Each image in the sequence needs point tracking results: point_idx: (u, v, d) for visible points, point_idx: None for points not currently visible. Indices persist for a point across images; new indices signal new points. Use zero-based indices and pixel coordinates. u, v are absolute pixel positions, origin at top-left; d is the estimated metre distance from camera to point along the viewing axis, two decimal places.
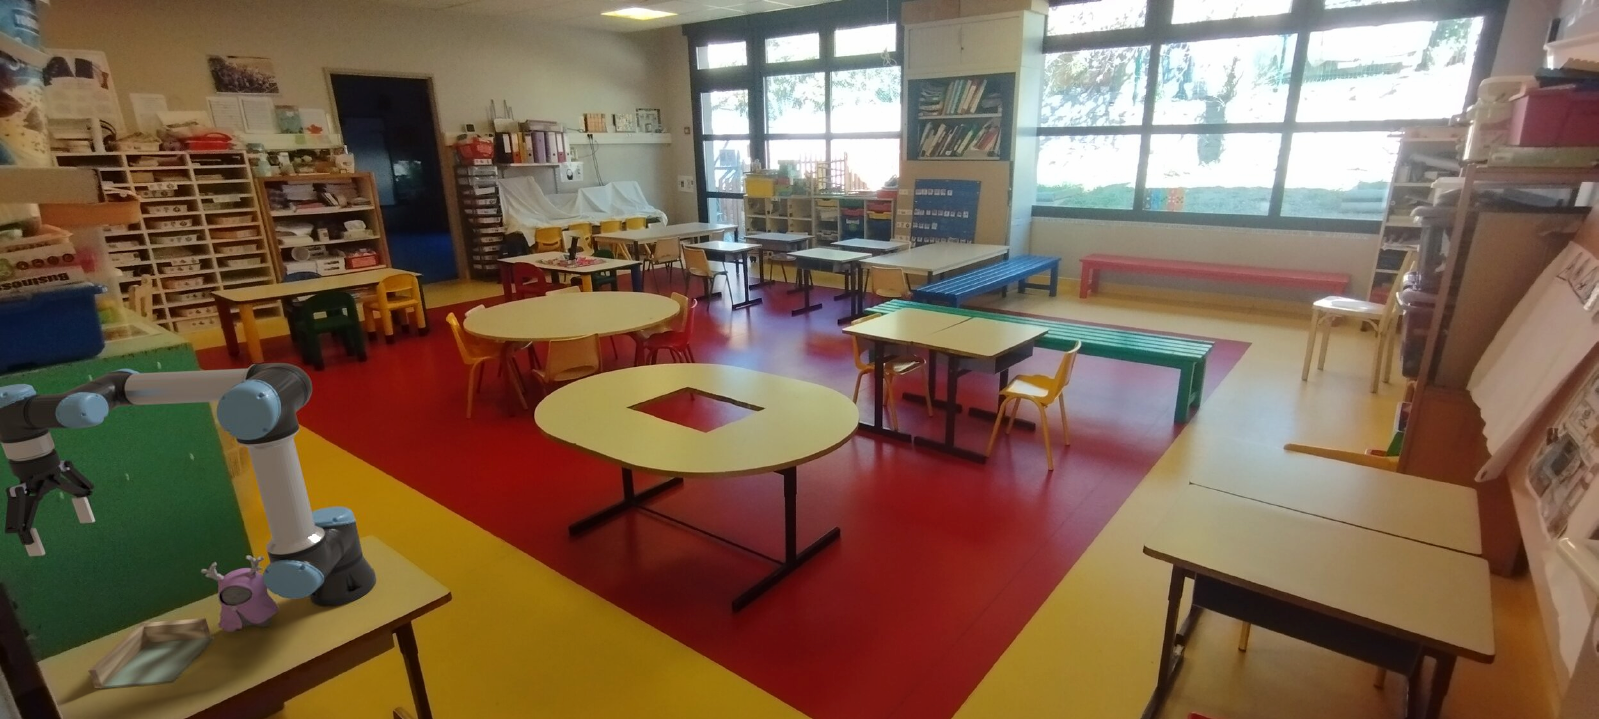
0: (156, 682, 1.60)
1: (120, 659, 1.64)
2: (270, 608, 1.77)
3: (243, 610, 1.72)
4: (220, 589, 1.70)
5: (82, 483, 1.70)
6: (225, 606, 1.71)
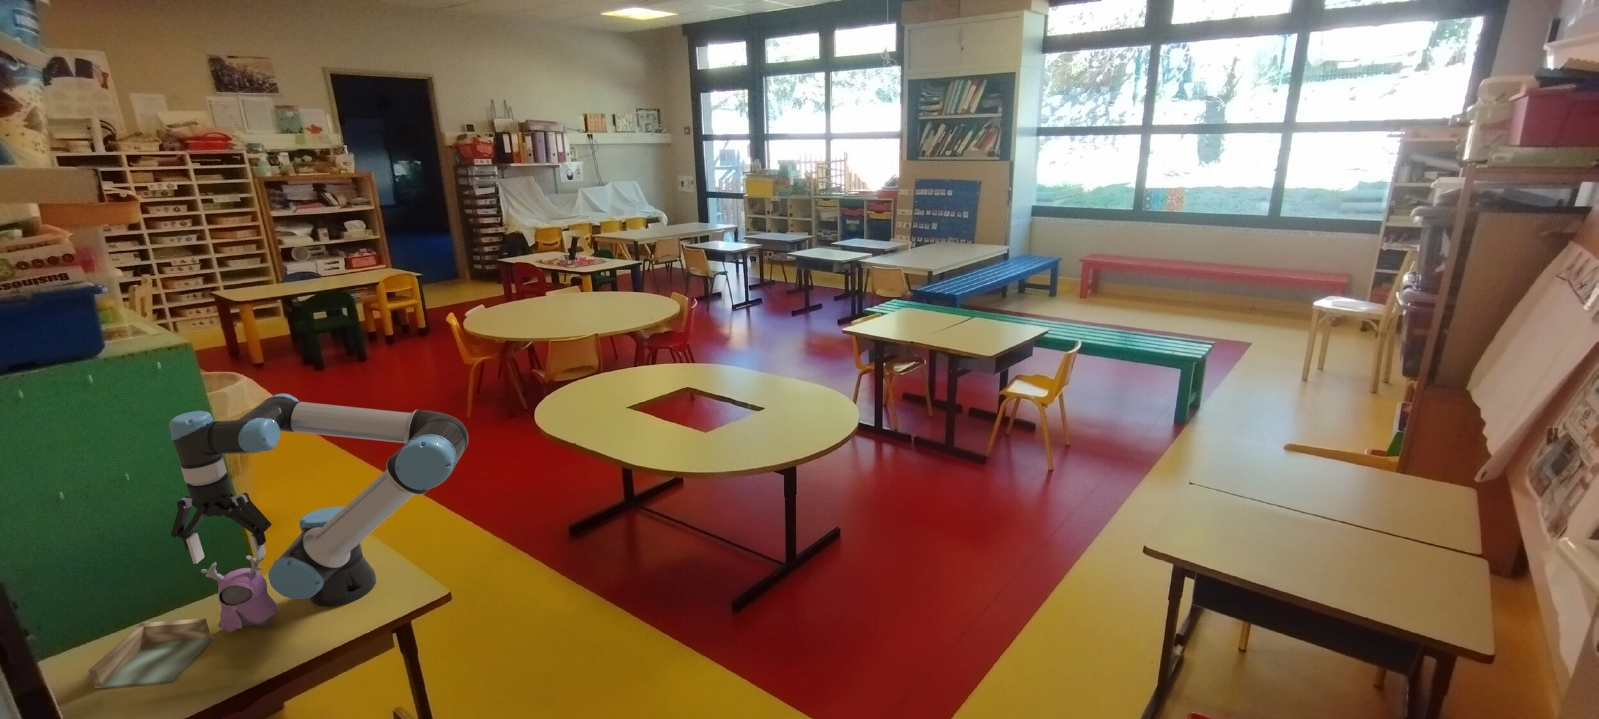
0: (156, 682, 1.60)
1: (120, 659, 1.64)
2: (270, 608, 1.77)
3: (243, 610, 1.72)
4: (220, 589, 1.70)
5: None
6: (225, 606, 1.71)
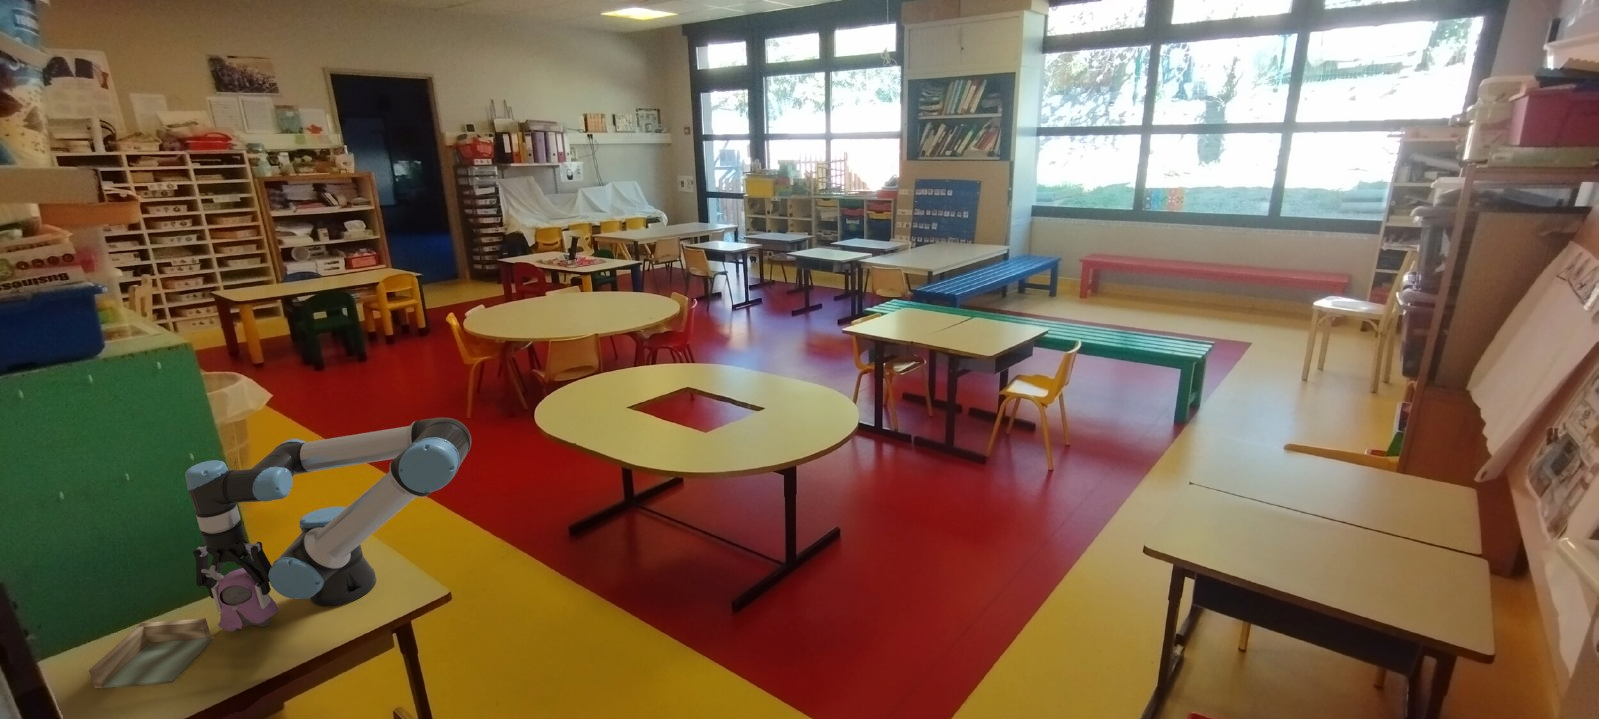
0: (156, 682, 1.60)
1: (120, 659, 1.64)
2: (270, 608, 1.77)
3: (244, 610, 1.72)
4: (220, 589, 1.70)
5: None
6: (225, 606, 1.71)
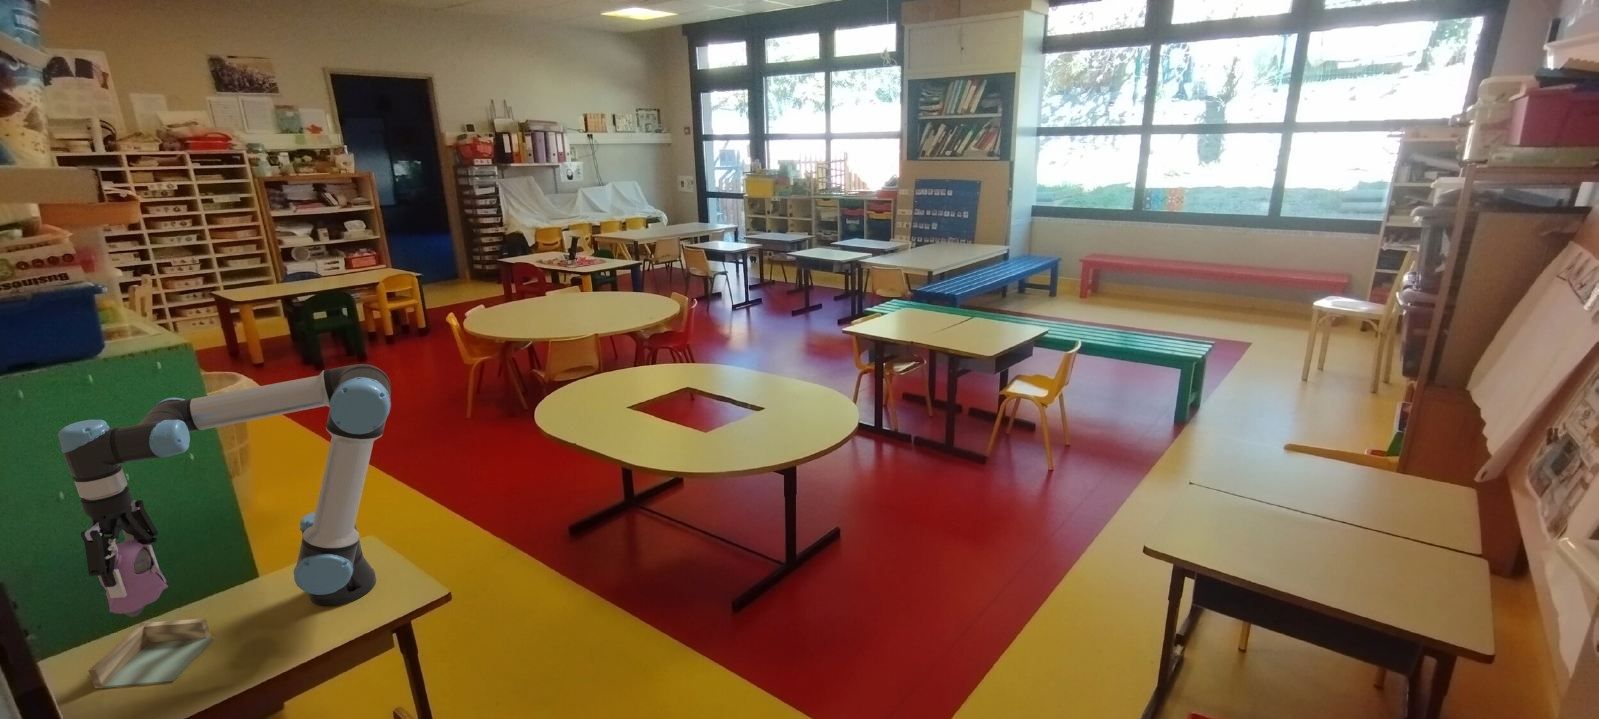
0: (156, 682, 1.60)
1: (120, 659, 1.64)
2: None
3: (158, 570, 1.61)
4: (131, 560, 1.55)
5: (147, 527, 1.62)
6: (143, 575, 1.57)
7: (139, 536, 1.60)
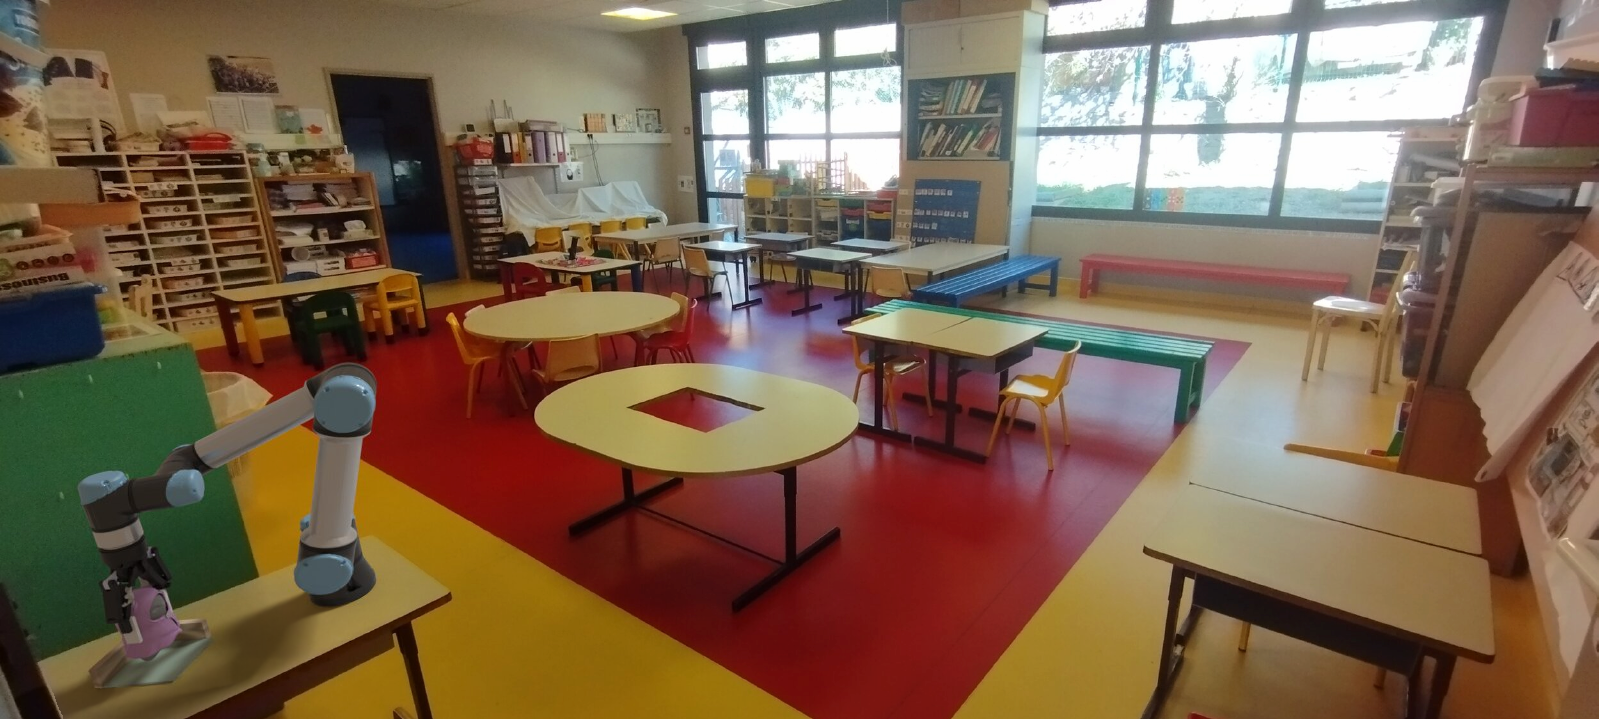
0: (156, 682, 1.60)
1: (120, 659, 1.64)
2: None
3: (172, 615, 1.65)
4: (147, 606, 1.59)
5: (162, 572, 1.66)
6: (158, 620, 1.61)
7: (154, 582, 1.64)
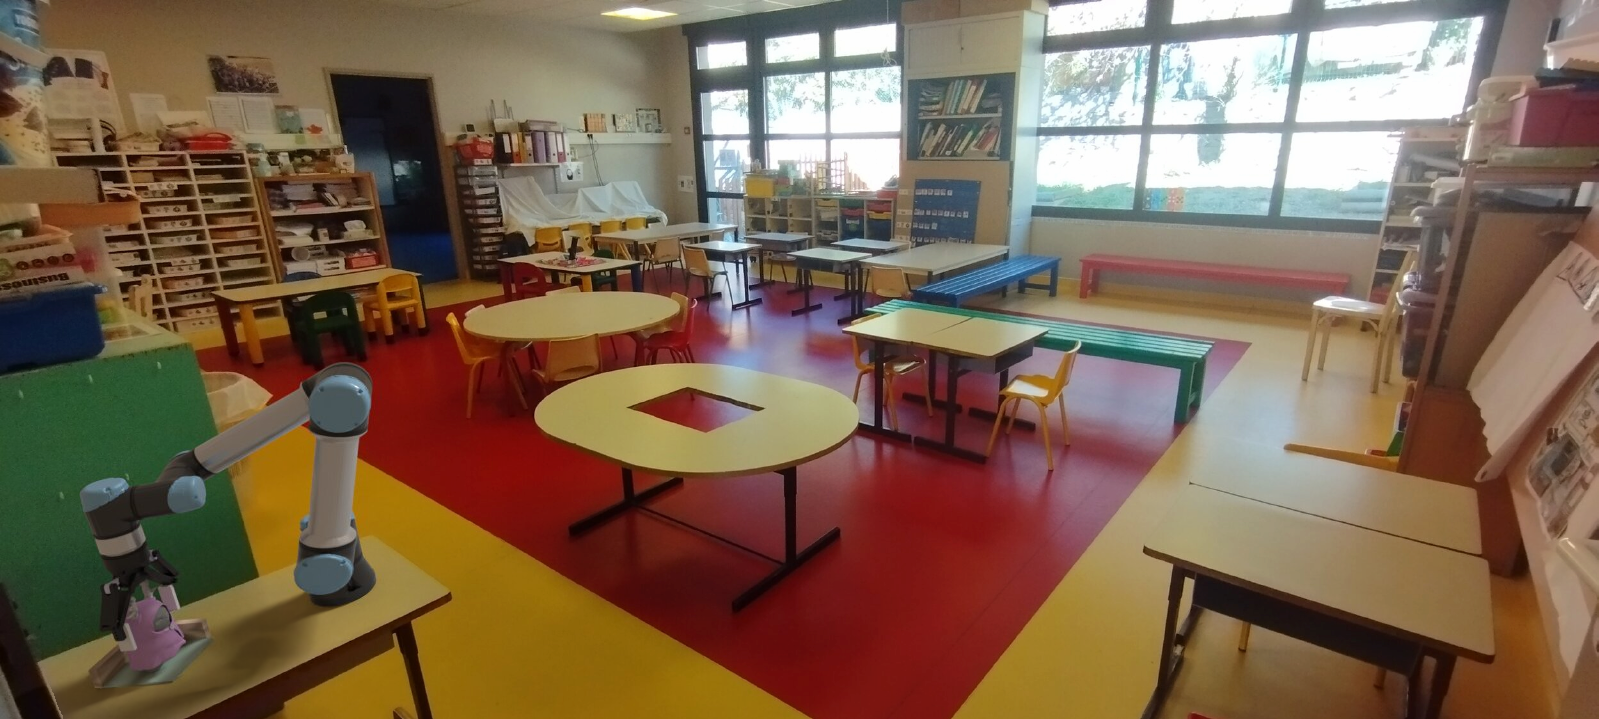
0: (156, 682, 1.60)
1: (120, 659, 1.64)
2: None
3: (176, 626, 1.66)
4: (151, 618, 1.60)
5: (168, 571, 1.68)
6: (162, 632, 1.62)
7: (160, 580, 1.66)
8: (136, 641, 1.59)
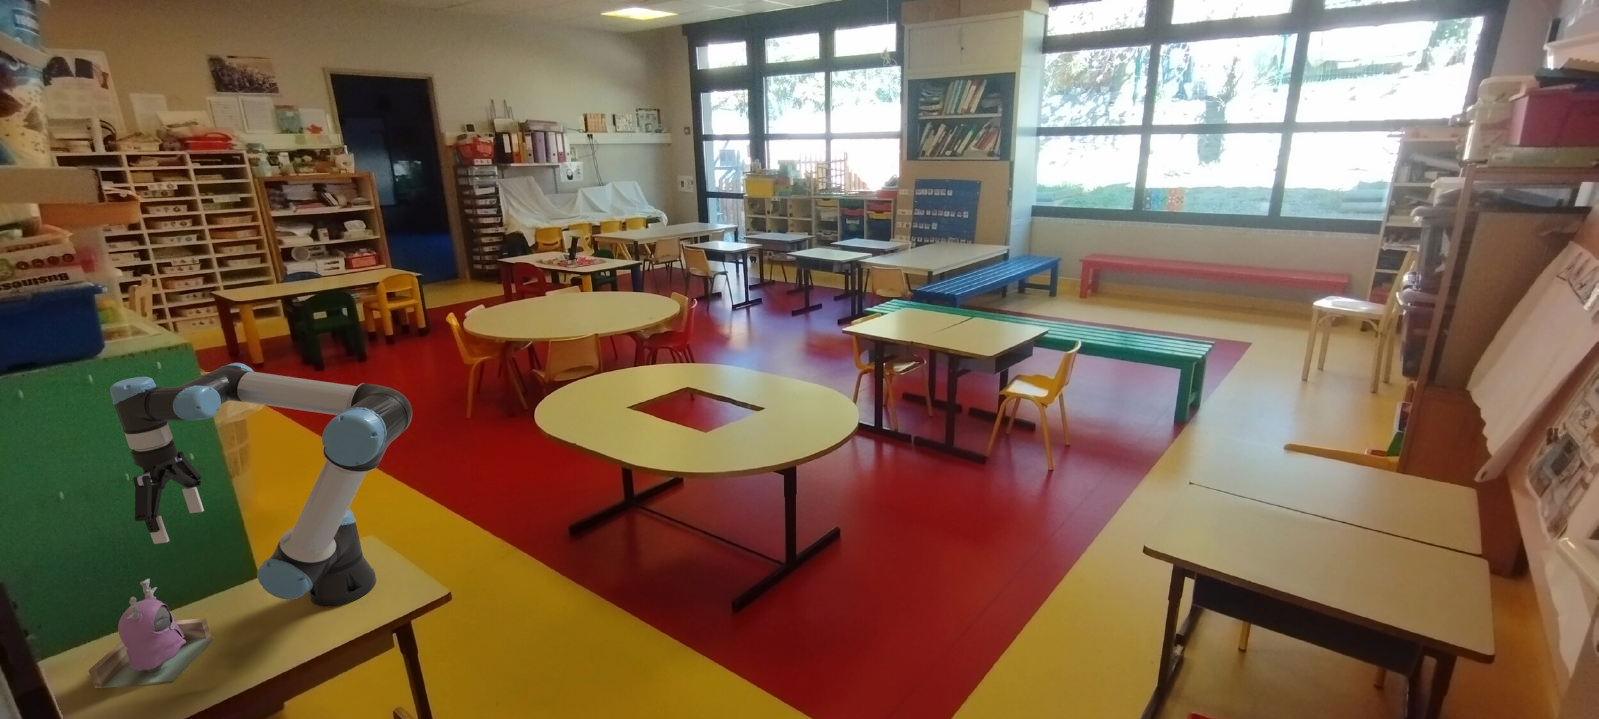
0: (156, 682, 1.60)
1: (120, 659, 1.64)
2: None
3: (176, 626, 1.66)
4: (151, 618, 1.60)
5: (191, 474, 1.75)
6: (162, 632, 1.62)
7: (185, 482, 1.73)
8: (136, 641, 1.59)
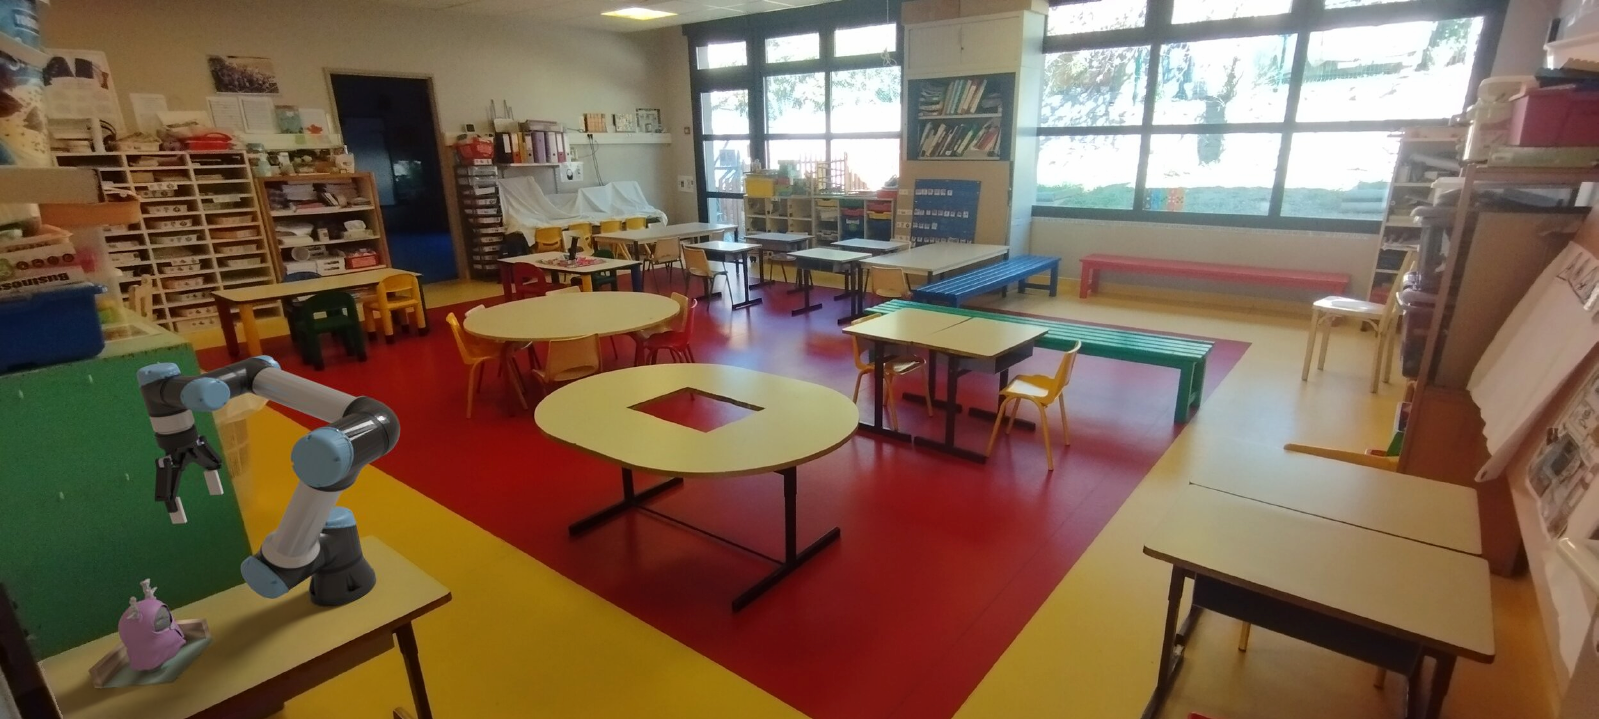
0: (156, 682, 1.60)
1: (120, 659, 1.64)
2: None
3: (176, 626, 1.66)
4: (151, 618, 1.60)
5: (213, 457, 1.81)
6: (162, 632, 1.62)
7: (206, 464, 1.79)
8: (136, 641, 1.59)
